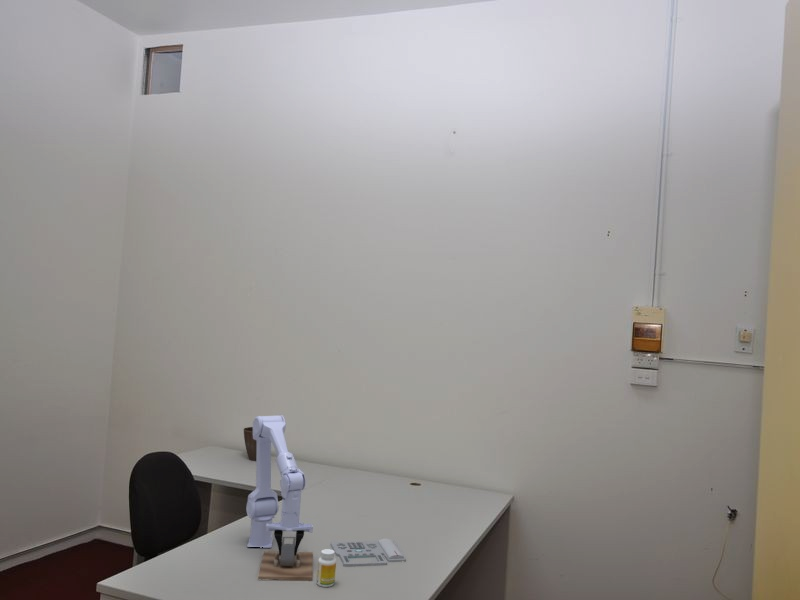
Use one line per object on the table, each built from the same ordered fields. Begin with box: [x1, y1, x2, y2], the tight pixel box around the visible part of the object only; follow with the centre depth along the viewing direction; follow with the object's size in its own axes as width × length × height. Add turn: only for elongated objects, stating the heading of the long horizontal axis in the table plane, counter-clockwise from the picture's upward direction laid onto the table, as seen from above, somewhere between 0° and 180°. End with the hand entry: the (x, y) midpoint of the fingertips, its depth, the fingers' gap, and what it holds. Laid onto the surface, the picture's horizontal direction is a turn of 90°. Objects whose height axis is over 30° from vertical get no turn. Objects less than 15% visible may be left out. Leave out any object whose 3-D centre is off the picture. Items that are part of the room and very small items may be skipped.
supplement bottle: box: [316, 548, 337, 588], centre depth 188 cm, size 5×5×10 cm
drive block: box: [280, 536, 296, 566], centre depth 199 cm, size 8×4×6 cm, turn 7°
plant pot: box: [243, 426, 257, 462], centre depth 336 cm, size 15×15×16 cm
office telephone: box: [330, 538, 407, 568], centre depth 214 cm, size 23×3×20 cm
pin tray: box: [257, 550, 314, 582], centre depth 199 cm, size 20×16×3 cm
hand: (287, 554), depth 199 cm, fingers closed on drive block, 4 cm apart
